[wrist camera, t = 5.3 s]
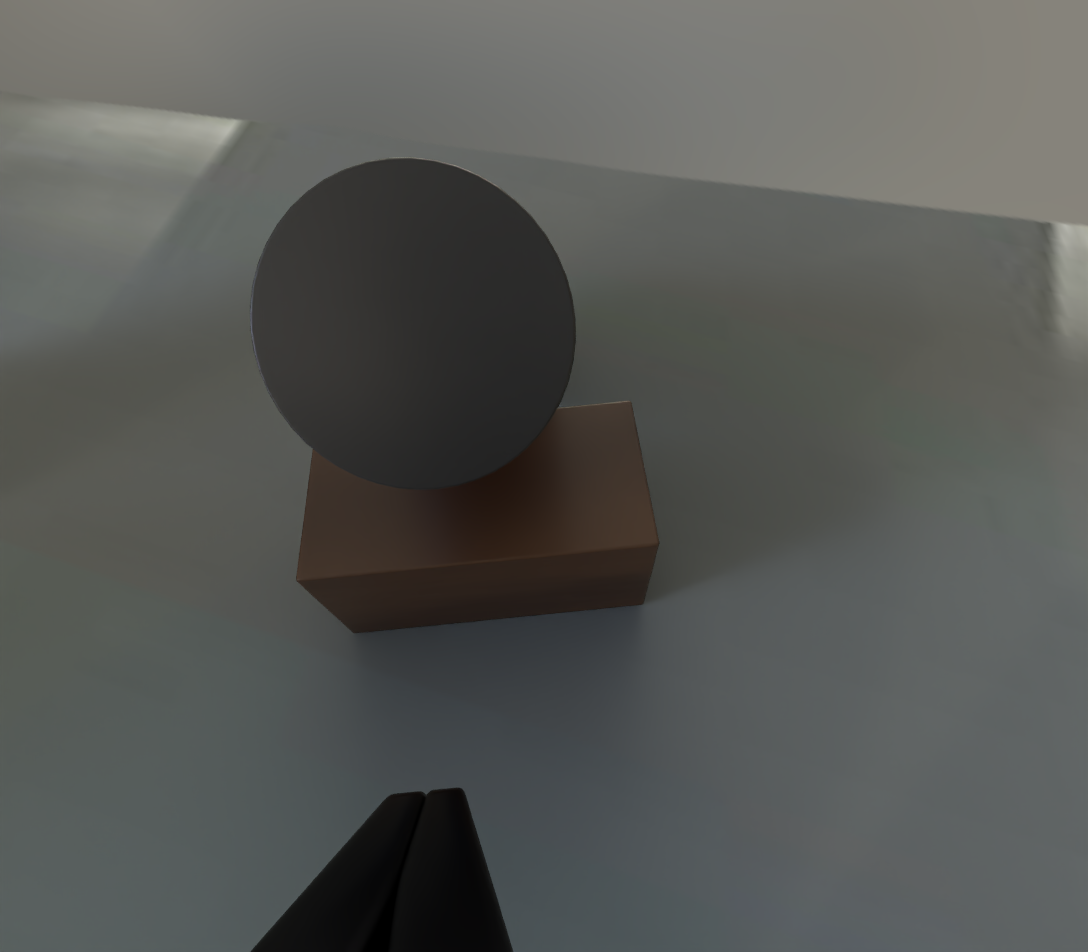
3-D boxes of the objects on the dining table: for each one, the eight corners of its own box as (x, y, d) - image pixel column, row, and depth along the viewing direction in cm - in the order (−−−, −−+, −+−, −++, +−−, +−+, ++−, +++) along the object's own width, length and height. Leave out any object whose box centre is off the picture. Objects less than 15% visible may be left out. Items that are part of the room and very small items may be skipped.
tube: (584, 630, 17) (591, 321, 7) (415, 646, 17) (159, 364, 7) (546, 314, 22) (519, -107, 12) (421, 326, 22) (291, -85, 12)
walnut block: (644, 605, 17) (660, 544, 13) (352, 633, 17) (294, 580, 13) (622, 479, 19) (631, 399, 15) (362, 505, 19) (313, 430, 15)
